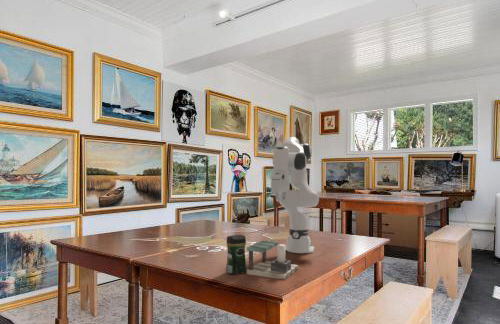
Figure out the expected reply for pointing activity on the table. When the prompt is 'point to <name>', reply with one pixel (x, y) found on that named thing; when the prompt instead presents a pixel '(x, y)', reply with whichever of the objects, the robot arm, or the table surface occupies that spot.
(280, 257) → the peg
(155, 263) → the table surface
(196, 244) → the table surface
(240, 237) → the coffee jar
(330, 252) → the table surface
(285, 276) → the canopy socket
